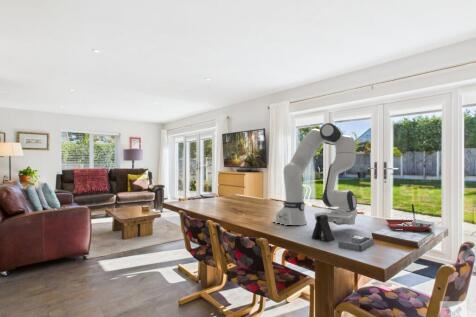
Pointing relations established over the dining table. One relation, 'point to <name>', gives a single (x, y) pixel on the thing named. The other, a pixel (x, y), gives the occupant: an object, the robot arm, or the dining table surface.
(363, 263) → the dining table surface
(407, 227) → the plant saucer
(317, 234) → the black a-shaped stand
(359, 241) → the grey cube
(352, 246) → the tray
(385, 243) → the dining table surface
